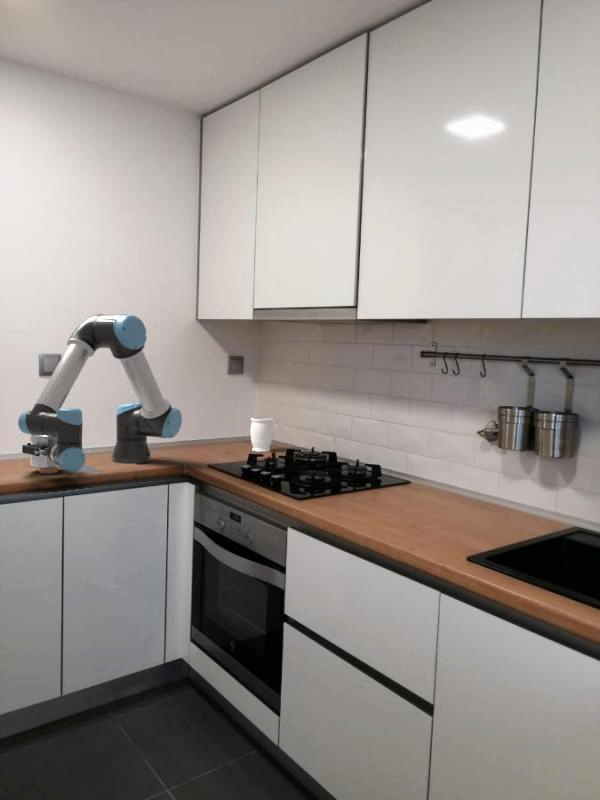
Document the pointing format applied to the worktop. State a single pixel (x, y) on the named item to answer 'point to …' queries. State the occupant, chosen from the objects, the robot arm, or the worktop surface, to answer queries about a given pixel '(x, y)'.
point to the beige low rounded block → (48, 470)
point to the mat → (84, 469)
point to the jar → (261, 433)
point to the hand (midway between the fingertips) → (45, 444)
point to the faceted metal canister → (42, 459)
